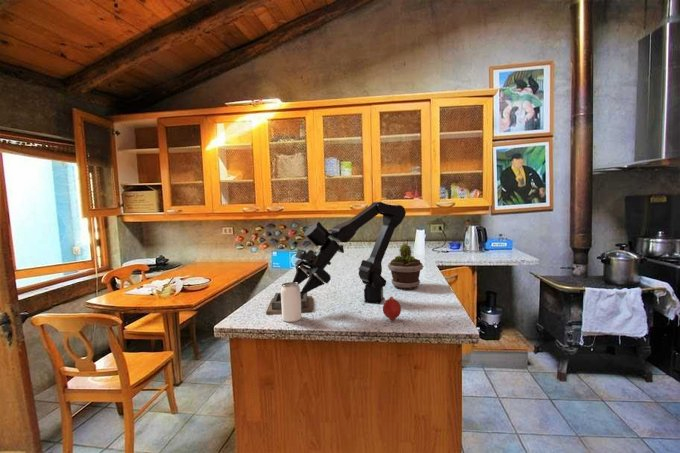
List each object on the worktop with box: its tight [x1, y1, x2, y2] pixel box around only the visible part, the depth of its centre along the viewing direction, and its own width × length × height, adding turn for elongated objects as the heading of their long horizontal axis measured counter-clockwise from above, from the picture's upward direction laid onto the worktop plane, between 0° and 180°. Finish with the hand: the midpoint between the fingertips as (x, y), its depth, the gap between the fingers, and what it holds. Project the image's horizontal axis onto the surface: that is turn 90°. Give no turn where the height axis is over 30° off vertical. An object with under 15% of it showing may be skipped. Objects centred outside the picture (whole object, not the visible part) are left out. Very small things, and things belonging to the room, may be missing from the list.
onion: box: [382, 296, 402, 322], centre depth 106 cm, size 6×6×8 cm
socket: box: [265, 291, 313, 315], centre depth 125 cm, size 16×16×4 cm
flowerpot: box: [387, 242, 424, 291], centre depth 144 cm, size 14×15×20 cm
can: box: [280, 281, 302, 323], centre depth 111 cm, size 6×6×12 cm
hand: (296, 290), depth 112 cm, fingers open, 9 cm apart
